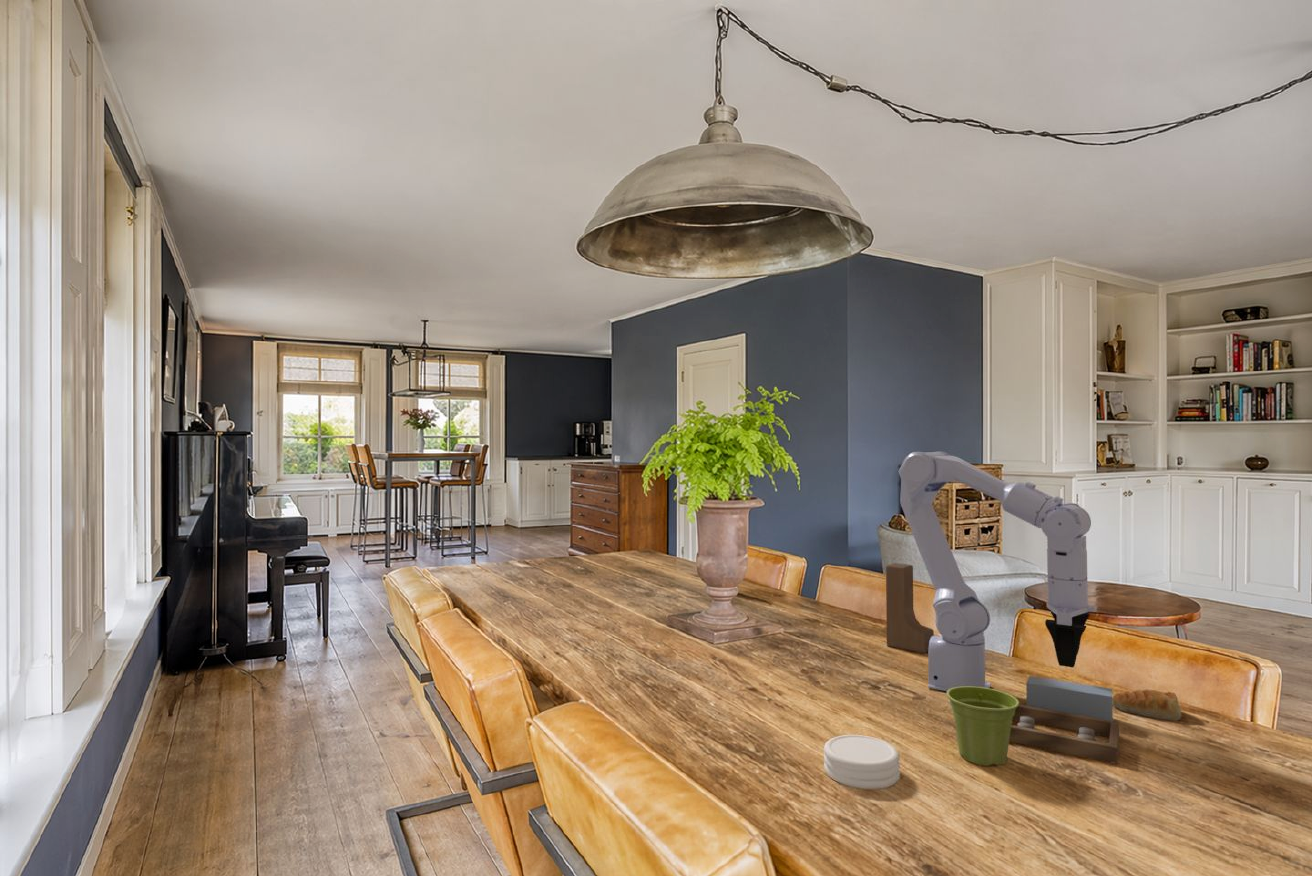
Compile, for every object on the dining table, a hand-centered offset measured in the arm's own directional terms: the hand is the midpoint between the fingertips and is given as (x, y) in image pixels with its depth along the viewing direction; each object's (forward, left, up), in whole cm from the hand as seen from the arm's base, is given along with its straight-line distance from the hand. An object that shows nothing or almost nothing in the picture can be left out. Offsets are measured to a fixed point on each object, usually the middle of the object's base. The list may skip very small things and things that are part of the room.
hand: (1068, 660), depth 116 cm
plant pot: (-9, -25, -9) cm, 28 cm away
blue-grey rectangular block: (0, 0, -9) cm, 9 cm away
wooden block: (-32, +25, -9) cm, 42 cm away
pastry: (+11, +9, -10) cm, 17 cm away
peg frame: (-1, -11, -9) cm, 15 cm away
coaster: (-22, -39, -10) cm, 46 cm away
